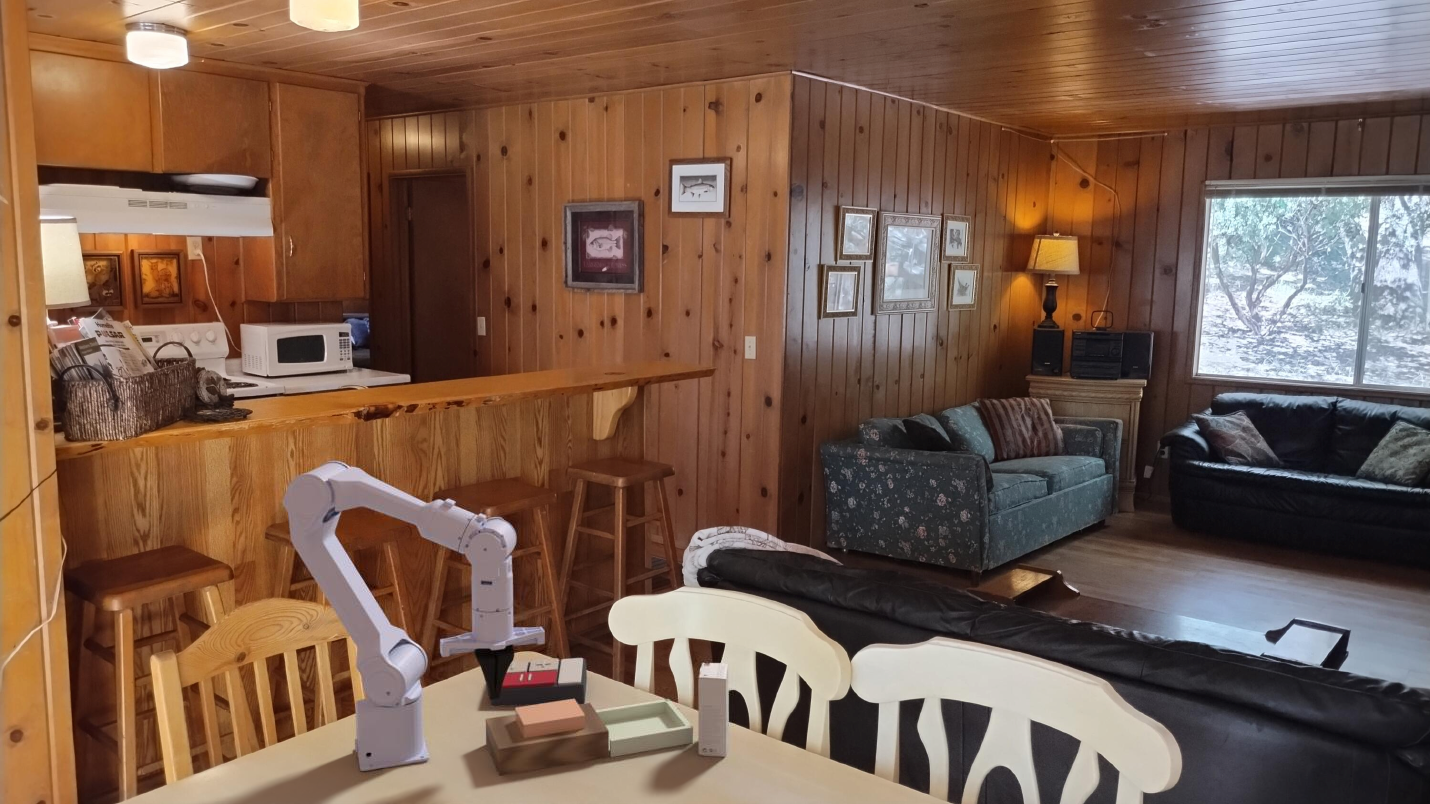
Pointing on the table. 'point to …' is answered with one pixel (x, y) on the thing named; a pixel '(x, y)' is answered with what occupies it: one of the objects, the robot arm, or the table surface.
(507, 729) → the brown wooden block
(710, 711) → the skincare box
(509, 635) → the robot arm
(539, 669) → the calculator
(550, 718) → the tile
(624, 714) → the tray
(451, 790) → the table surface
